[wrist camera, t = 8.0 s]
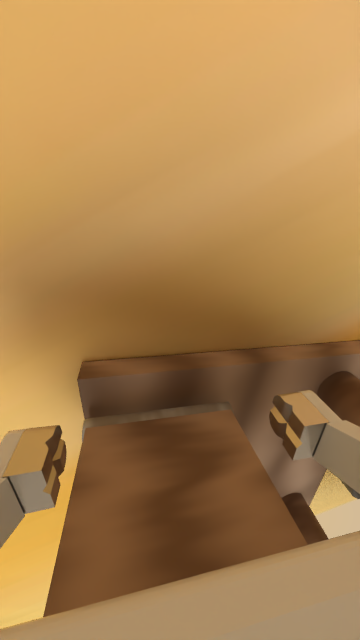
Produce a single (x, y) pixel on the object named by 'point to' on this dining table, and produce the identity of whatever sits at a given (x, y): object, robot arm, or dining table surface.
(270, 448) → the stool
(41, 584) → the dining table surface
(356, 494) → the candle holder
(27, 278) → the dining table surface
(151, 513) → the hinged leg
